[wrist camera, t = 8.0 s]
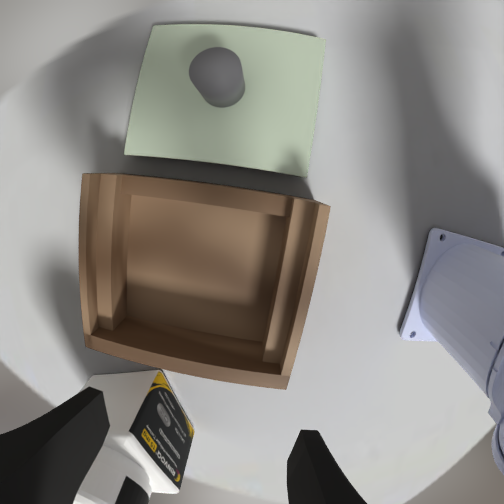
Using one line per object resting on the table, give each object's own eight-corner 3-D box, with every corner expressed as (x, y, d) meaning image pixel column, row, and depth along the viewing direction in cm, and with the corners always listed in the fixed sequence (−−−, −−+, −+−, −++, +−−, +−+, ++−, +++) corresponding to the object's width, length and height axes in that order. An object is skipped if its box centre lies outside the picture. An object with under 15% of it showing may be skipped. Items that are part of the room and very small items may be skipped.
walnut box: (282, 350, 19) (286, 389, 15) (113, 318, 19) (85, 346, 15) (314, 199, 16) (330, 206, 12) (118, 173, 16) (82, 173, 12)
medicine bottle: (196, 430, 21) (167, 549, 10) (129, 431, 22) (84, 527, 10) (162, 367, 20) (98, 499, 8) (91, 373, 20) (18, 471, 9)
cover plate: (304, 177, 16) (317, 176, 12) (128, 155, 16) (97, 151, 12) (323, 44, 14) (337, 15, 10) (156, 30, 14) (135, 3, 10)
